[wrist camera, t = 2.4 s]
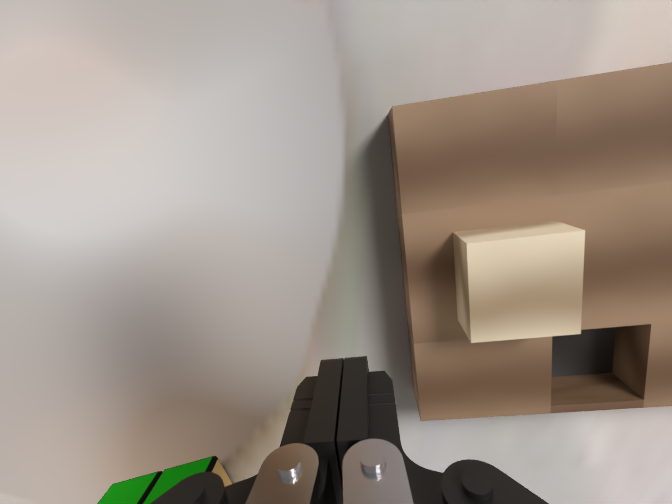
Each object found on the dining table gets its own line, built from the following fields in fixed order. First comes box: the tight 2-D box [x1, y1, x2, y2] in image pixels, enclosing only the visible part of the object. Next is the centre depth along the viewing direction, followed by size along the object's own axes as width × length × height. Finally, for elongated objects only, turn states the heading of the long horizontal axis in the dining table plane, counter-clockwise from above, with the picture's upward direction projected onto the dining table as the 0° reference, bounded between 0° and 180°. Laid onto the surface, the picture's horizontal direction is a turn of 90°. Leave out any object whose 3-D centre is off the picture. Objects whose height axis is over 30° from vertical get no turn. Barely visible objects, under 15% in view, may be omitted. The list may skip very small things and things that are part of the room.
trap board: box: [388, 63, 672, 421], centre depth 19 cm, size 18×25×3 cm
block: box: [453, 220, 585, 343], centre depth 17 cm, size 5×5×2 cm
